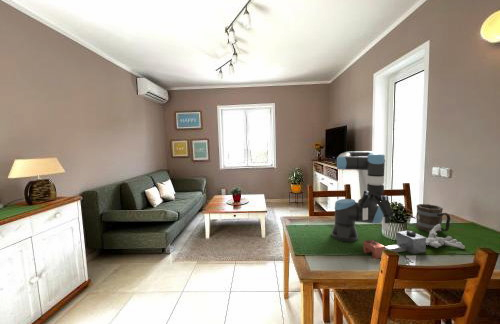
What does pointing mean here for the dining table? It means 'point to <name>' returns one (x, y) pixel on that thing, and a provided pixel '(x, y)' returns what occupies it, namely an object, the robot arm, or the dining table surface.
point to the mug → (430, 217)
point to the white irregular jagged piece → (441, 239)
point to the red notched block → (373, 248)
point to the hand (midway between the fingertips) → (374, 224)
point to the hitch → (408, 242)
